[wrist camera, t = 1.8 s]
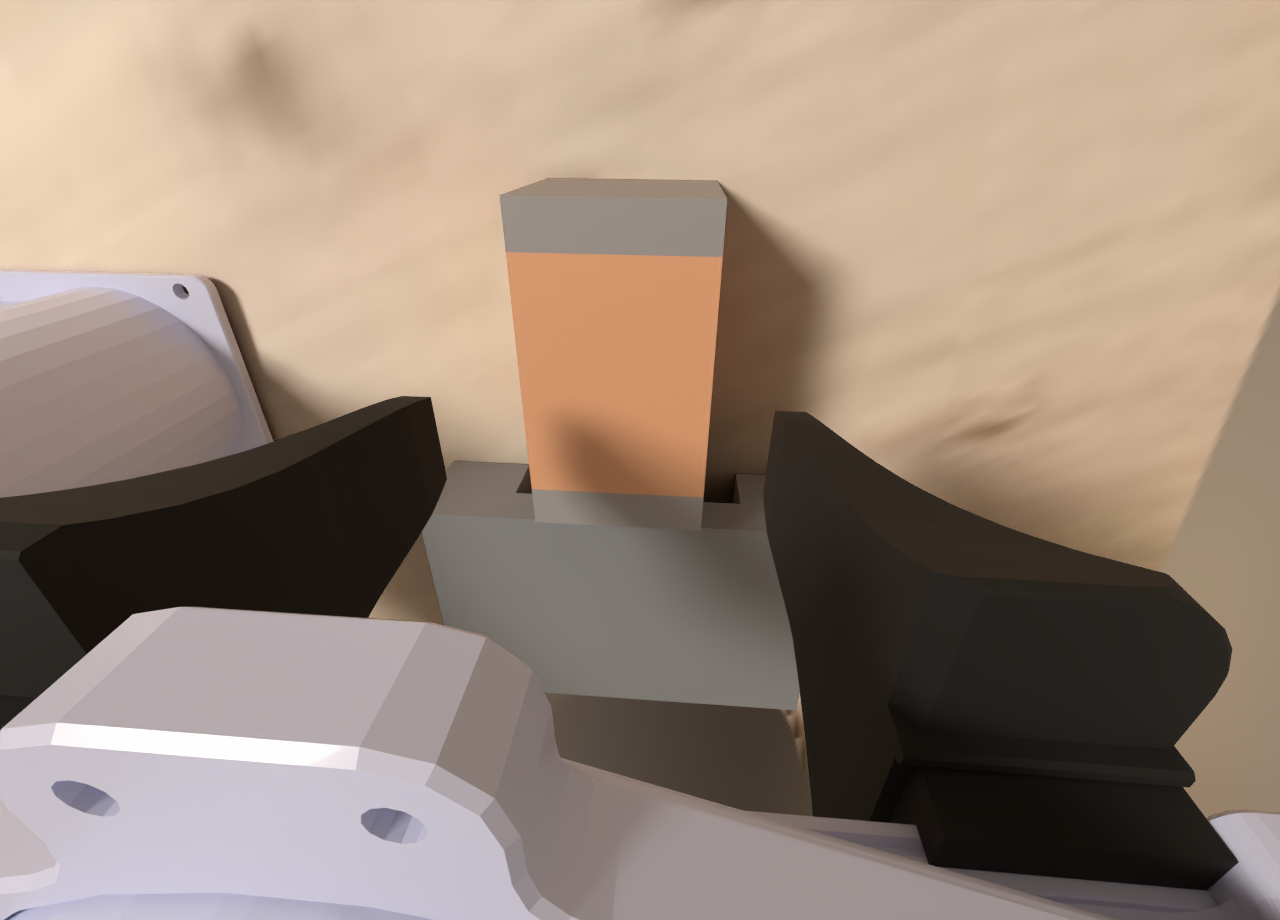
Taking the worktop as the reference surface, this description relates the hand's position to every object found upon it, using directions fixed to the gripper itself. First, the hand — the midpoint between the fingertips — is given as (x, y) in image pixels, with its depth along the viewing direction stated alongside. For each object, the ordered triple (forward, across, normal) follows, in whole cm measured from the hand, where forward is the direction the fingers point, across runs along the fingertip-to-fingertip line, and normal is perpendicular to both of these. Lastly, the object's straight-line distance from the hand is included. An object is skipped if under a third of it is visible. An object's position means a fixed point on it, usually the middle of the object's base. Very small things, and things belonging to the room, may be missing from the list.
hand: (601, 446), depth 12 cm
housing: (+8, 0, 0) cm, 8 cm away
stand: (+8, 0, +10) cm, 13 cm away
